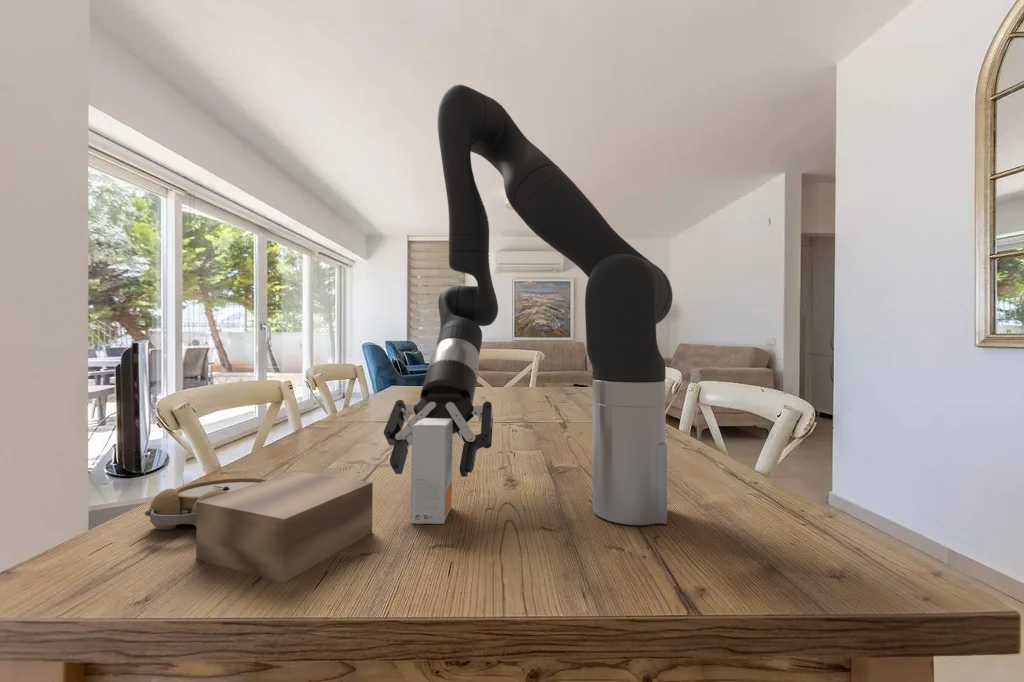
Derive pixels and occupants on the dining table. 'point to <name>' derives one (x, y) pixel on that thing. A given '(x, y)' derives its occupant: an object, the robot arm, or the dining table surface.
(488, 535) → the dining table surface
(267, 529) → the walnut block
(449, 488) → the skincare box
